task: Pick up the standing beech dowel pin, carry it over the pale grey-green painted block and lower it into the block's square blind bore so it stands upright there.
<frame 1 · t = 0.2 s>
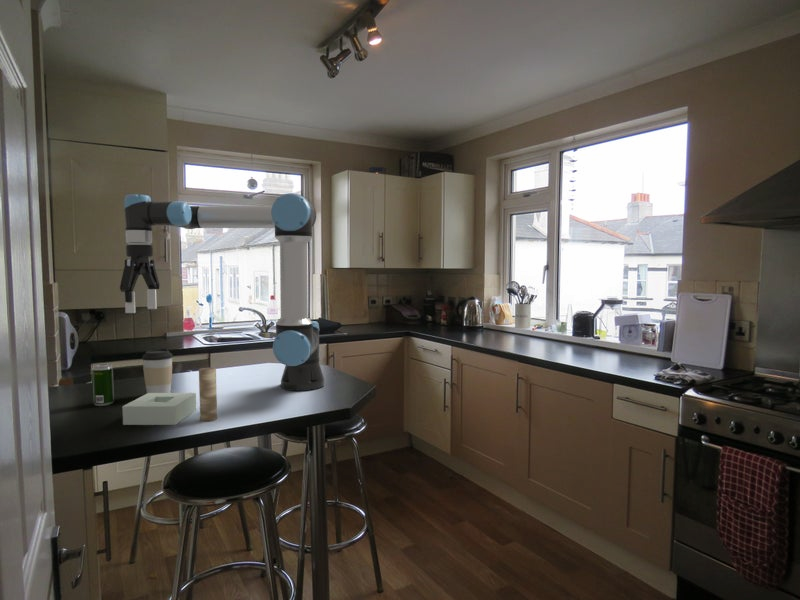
hand: (141, 310, 162), 28 cm above the table, fingers open, 13 cm apart
bore block: (161, 416, 142), on the table
coffee cup: (158, 396, 165), on the table
beer can: (104, 404, 155), on the table
beech pin: (208, 419, 140), on the table
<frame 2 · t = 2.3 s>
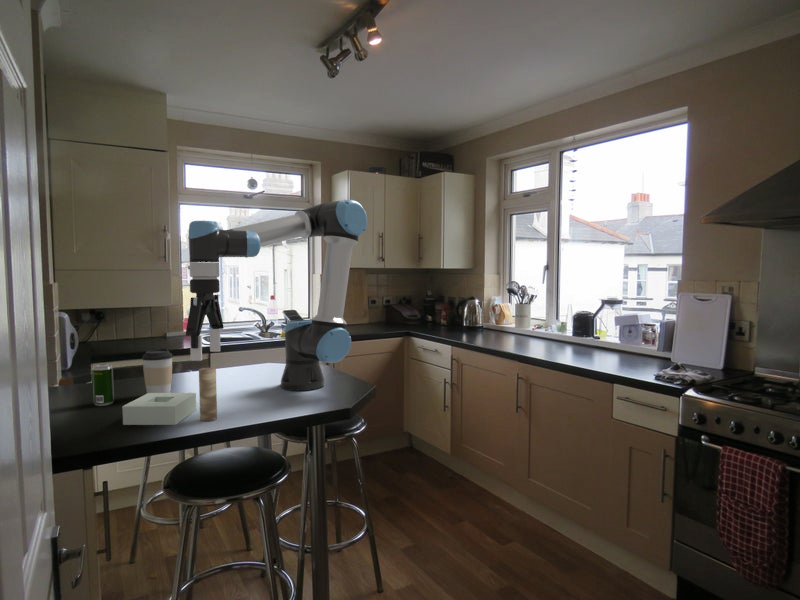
hand: (206, 355, 139), 18 cm above the table, fingers open, 13 cm apart
nothing on the table moved.
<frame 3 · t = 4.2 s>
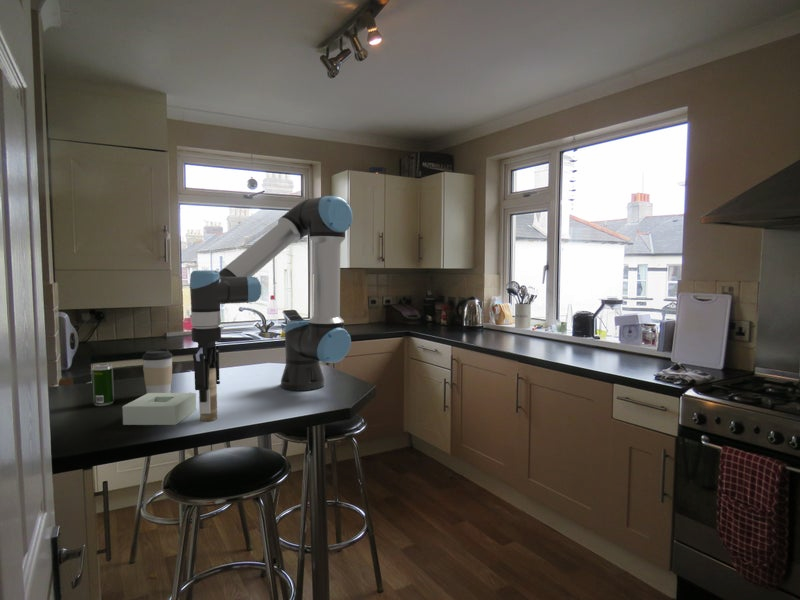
hand: (208, 410, 140), 2 cm above the table, fingers closed on beech pin, 4 cm apart
beech pin: (208, 419, 140), on the table, touching gripper
everything else where it was.
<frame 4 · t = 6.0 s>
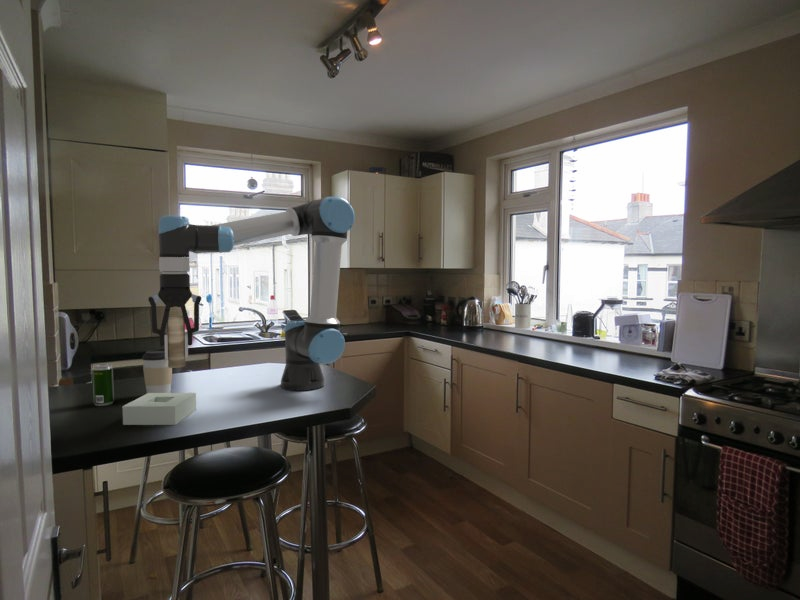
hand: (176, 357, 140), 17 cm above the table, fingers closed on beech pin, 4 cm apart
beech pin: (176, 366, 140), point 15 cm above the table, touching gripper
everything else where it was.
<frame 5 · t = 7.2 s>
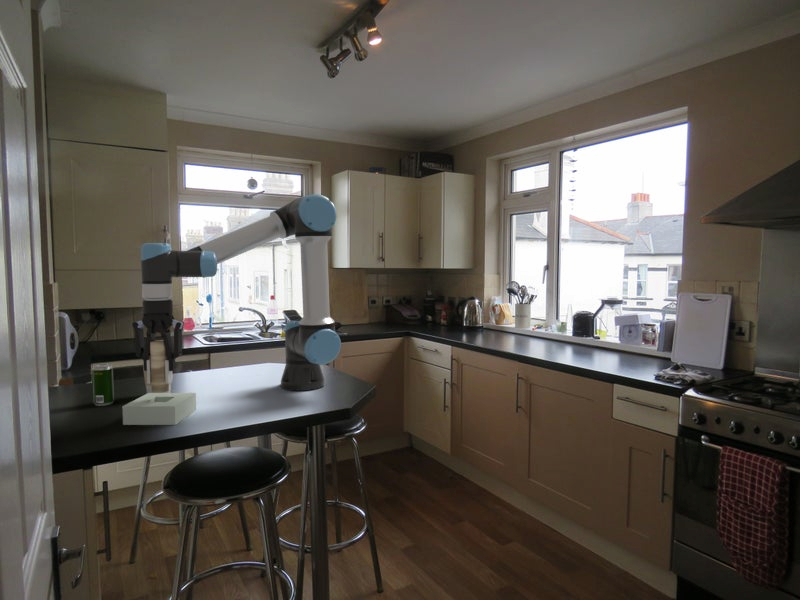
hand: (160, 382, 142), 10 cm above the table, fingers closed on beech pin, 4 cm apart
beech pin: (160, 390, 142), point 7 cm above the table, touching gripper
everything else where it was.
when the fingers open (7 cm above the table, at t = 8.1 s): beech pin drops 3 cm, resting on bore block.
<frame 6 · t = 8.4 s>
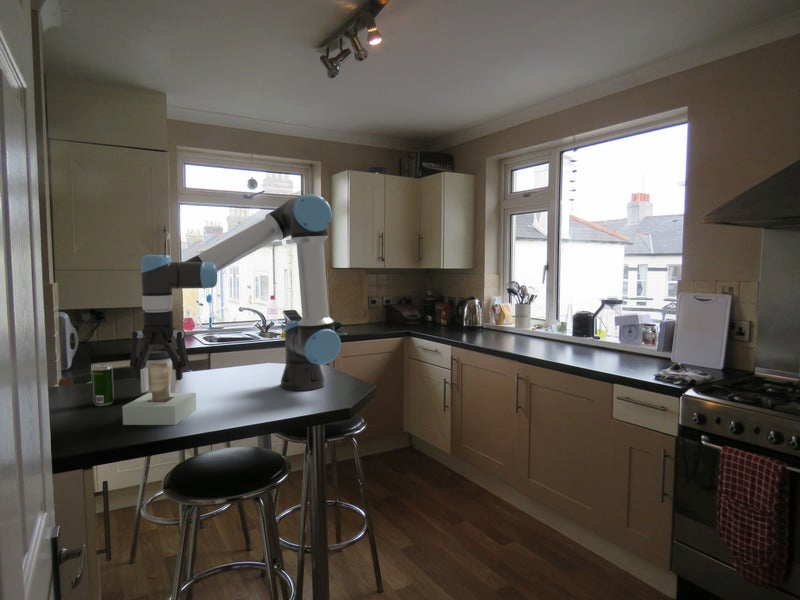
hand: (160, 391, 142), 7 cm above the table, fingers open, 8 cm apart
beech pin: (162, 413, 142), point 1 cm above the table, touching bore block
everything else where it was.
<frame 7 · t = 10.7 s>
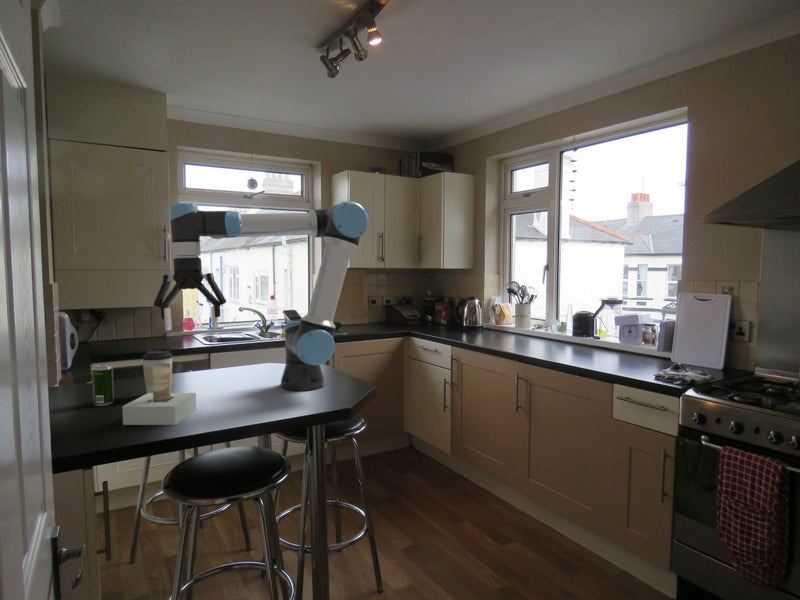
hand: (192, 329, 150), 24 cm above the table, fingers open, 13 cm apart
nothing on the table moved.
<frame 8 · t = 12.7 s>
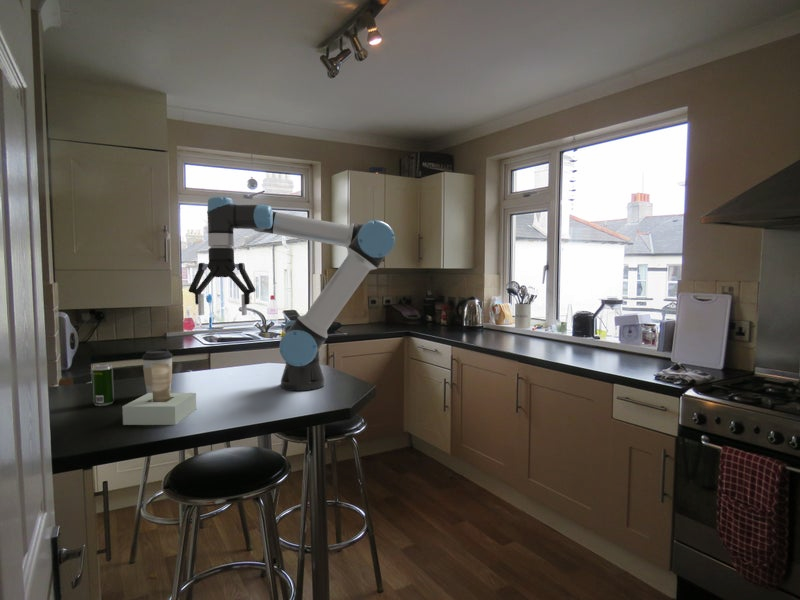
hand: (222, 315, 160), 27 cm above the table, fingers open, 13 cm apart
nothing on the table moved.
at the end: beech pin 0.2 cm off-centre on the bore block, point 1.0 cm above the bore block's base; beech pin tilted 0°; the gripper is holding nothing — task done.
